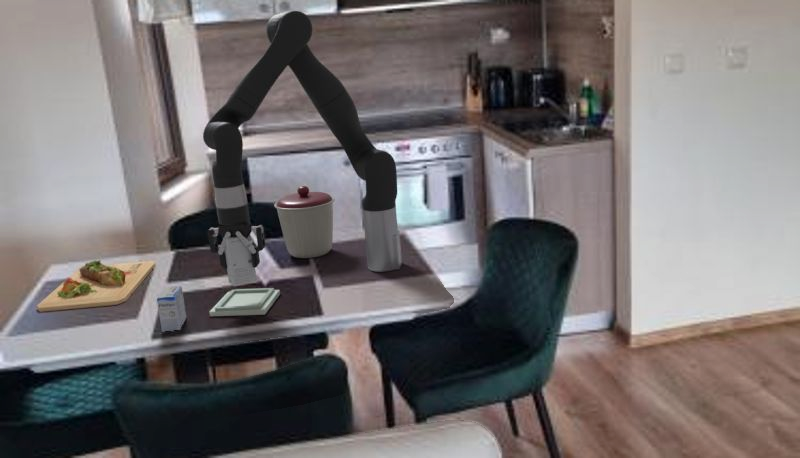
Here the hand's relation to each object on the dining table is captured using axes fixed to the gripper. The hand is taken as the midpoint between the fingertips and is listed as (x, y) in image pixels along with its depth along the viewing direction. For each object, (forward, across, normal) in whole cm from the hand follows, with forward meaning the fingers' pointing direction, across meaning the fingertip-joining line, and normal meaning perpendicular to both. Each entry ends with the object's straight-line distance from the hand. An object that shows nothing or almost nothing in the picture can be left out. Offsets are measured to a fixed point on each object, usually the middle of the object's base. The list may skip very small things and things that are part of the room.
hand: (240, 267), depth 190 cm
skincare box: (+4, 0, 0) cm, 4 cm away
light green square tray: (+10, 0, 0) cm, 10 cm away
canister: (+10, -7, -42) cm, 44 cm away
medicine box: (+10, +14, +12) cm, 21 cm away
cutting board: (+11, +50, -19) cm, 54 cm away
